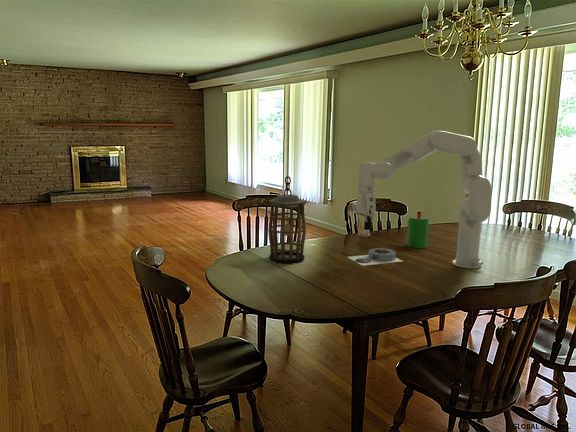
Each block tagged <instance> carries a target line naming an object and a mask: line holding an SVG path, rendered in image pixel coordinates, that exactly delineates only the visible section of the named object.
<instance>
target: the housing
mask: <svg viewBox="0 0 576 432" xmlns="http://www.w3.org/2000/svg"><path fill="white" fill-rule="evenodd" d="M367 255H368V257H369V258H370V259H372V260H376V261H393V260H395V258H397V256H396V255H397V253H396V251H395V250H393V249H389V248H381V247H380V248H378V247H376V248H371V249H368V254H367Z"/></svg>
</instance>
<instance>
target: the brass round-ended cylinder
mask: <svg viewBox="0 0 576 432" xmlns="http://www.w3.org/2000/svg"><path fill="white" fill-rule="evenodd" d="M367 217H369V216H367ZM365 221H366V220H365V215H364V214H360V215H359V227H358V236H360V237H369V236H370V231H371V230H364V224H365Z"/></svg>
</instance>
